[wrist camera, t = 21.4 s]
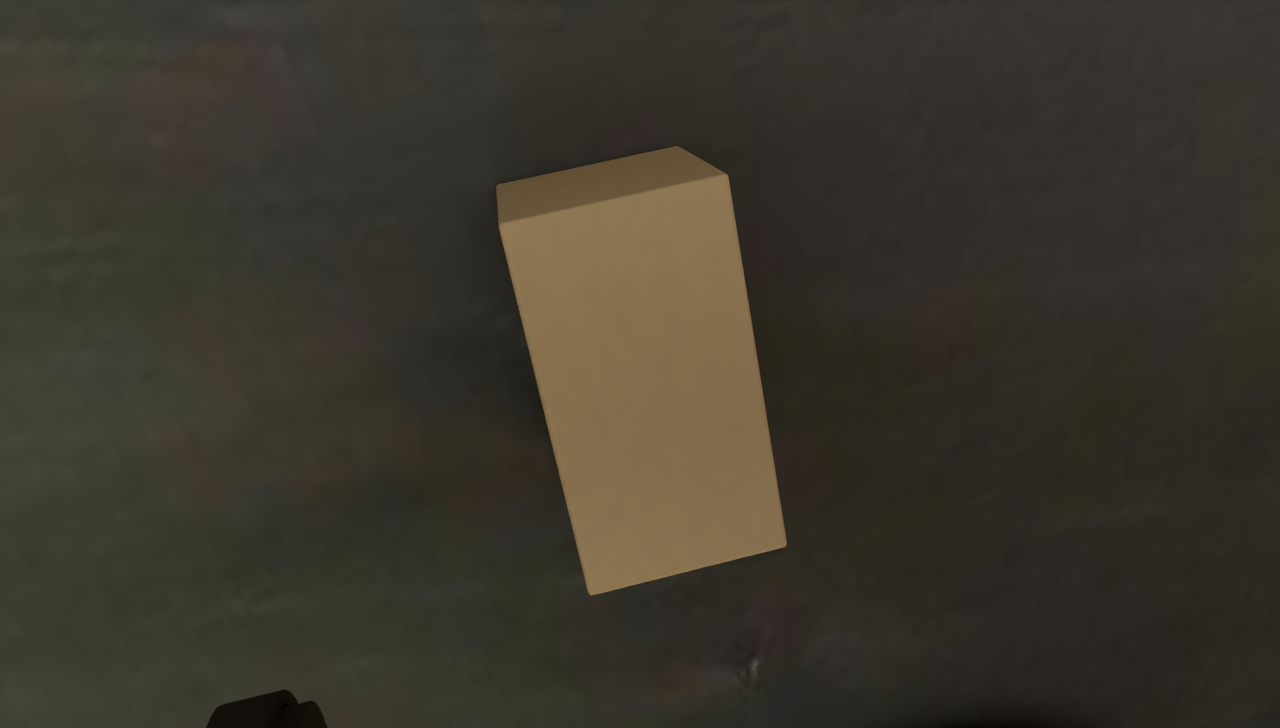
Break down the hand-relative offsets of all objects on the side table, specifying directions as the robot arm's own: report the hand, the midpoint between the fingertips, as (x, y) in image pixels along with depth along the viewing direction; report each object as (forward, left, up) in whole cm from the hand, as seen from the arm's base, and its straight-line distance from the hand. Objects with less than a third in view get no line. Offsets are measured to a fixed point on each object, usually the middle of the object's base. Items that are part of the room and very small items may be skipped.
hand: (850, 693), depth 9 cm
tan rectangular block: (+1, 0, -11) cm, 11 cm away
